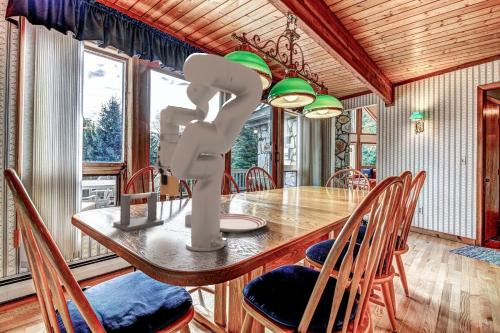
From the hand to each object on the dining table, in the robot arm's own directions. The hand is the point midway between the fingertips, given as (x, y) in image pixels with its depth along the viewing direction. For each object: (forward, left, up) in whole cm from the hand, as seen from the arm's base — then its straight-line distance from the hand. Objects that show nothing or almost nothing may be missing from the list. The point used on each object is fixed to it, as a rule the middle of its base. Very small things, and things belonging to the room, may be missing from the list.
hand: (169, 183), depth 103 cm
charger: (+2, -17, -19) cm, 25 cm away
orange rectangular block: (0, 0, -5) cm, 5 cm away
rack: (+14, +5, -18) cm, 24 cm away
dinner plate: (-18, -21, -19) cm, 33 cm away
